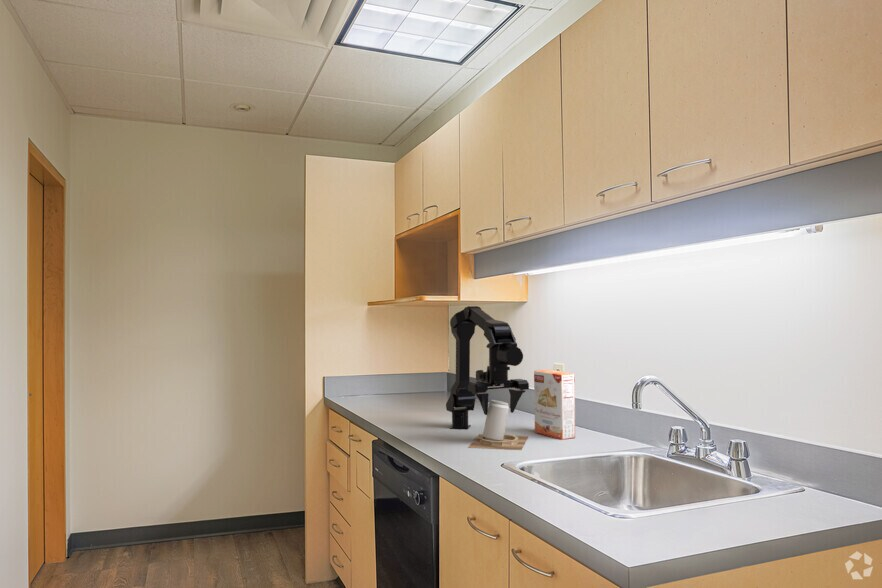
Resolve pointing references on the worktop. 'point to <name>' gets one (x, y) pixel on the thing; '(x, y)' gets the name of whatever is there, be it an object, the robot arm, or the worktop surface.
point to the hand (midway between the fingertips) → (498, 413)
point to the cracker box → (554, 403)
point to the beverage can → (496, 420)
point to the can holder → (500, 442)
